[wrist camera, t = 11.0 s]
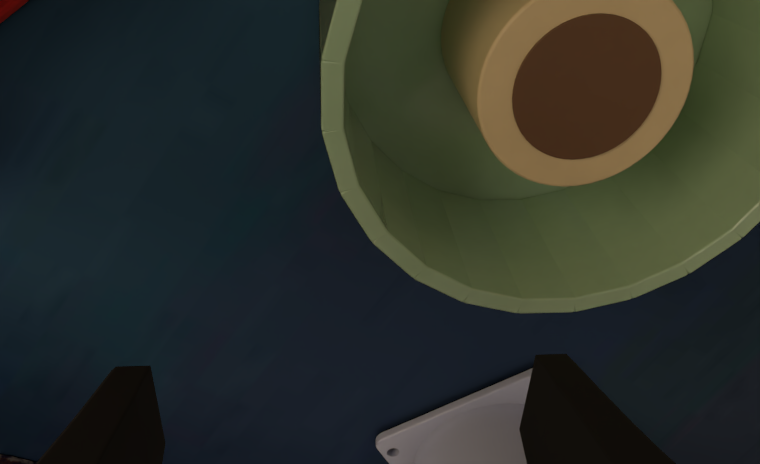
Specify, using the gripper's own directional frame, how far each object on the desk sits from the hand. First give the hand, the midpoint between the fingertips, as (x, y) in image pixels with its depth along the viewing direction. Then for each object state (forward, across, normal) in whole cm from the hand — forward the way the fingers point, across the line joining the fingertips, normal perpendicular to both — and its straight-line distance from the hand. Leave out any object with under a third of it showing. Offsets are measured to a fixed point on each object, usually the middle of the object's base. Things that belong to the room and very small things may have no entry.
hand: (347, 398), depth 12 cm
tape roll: (+10, -6, -4) cm, 12 cm away
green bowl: (+10, -6, -4) cm, 13 cm away
